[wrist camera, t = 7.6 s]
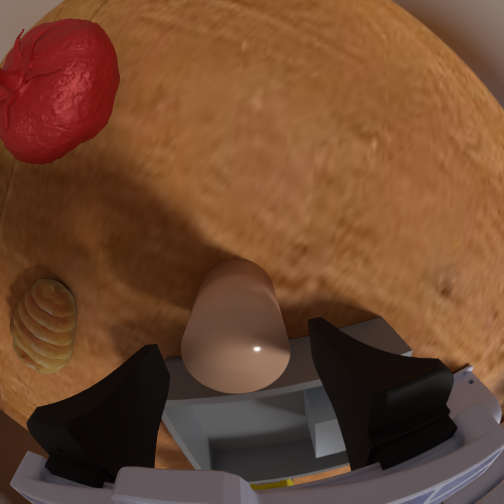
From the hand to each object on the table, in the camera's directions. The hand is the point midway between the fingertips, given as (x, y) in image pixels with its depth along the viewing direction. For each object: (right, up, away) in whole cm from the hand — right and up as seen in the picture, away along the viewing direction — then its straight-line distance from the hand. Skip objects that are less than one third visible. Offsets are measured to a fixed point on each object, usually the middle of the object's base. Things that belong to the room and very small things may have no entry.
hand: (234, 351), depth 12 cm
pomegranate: (-12, +16, +3) cm, 20 cm away
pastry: (-17, -2, +7) cm, 19 cm away
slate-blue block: (+8, -7, +9) cm, 14 cm away
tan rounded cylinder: (0, +2, +7) cm, 7 cm away
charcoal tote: (+4, -8, +9) cm, 13 cm away
